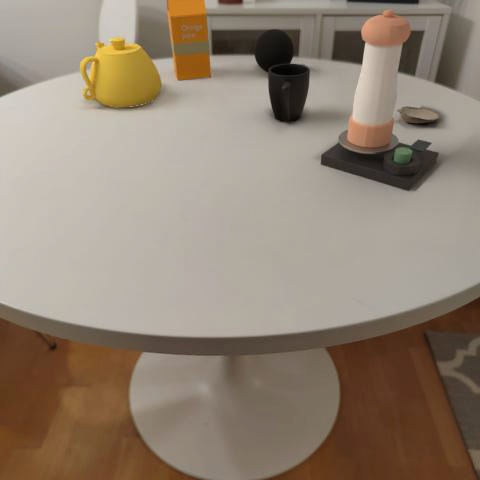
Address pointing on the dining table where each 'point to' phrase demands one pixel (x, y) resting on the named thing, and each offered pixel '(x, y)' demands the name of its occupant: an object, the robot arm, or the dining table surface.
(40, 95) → the dining table surface
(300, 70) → the mug
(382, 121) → the salt shaker
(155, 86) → the teapot
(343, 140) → the scale pan
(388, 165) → the scale
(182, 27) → the orange juice
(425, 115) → the seashell
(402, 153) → the tare button
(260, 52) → the decorative ball
